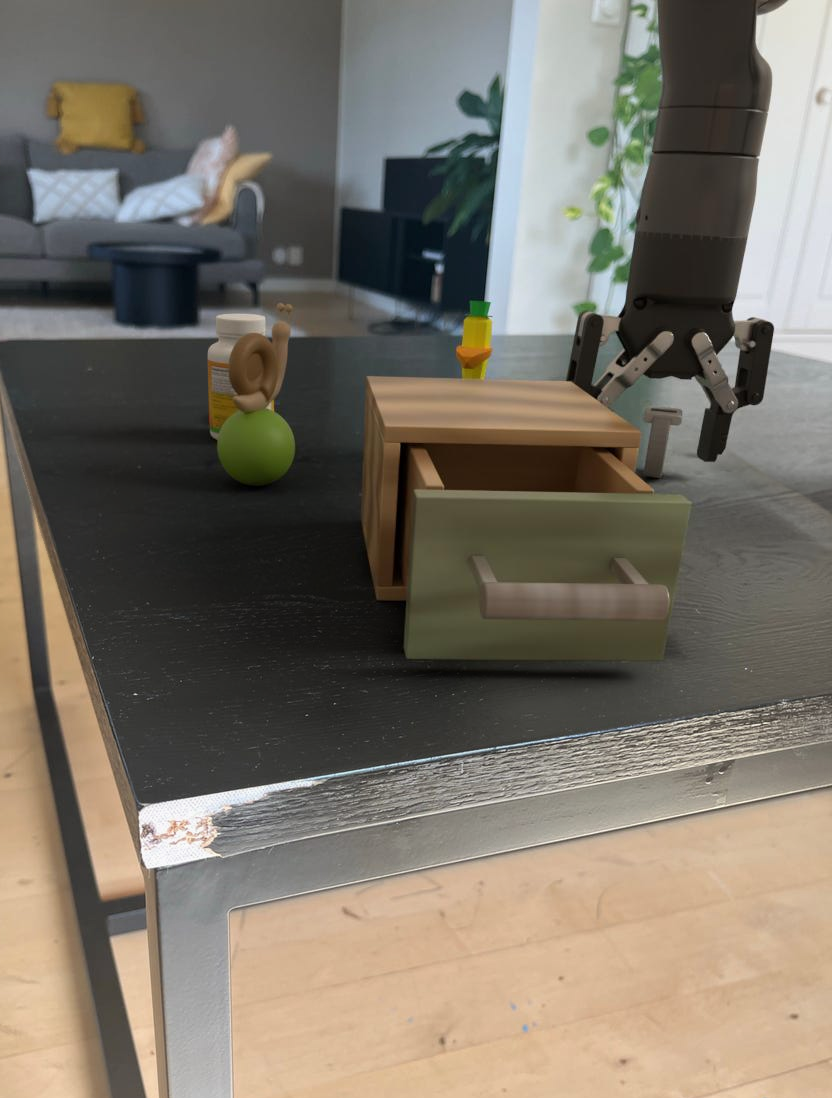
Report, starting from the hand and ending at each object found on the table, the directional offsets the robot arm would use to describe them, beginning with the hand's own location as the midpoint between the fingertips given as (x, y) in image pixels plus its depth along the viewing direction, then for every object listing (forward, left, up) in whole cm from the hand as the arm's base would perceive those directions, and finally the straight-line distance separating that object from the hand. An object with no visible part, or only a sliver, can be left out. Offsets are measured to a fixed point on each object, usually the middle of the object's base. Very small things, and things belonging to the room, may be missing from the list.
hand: (651, 458), depth 75 cm
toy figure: (+14, -4, -2) cm, 14 cm away
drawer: (+17, +31, 0) cm, 35 cm away
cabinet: (+17, +19, -1) cm, 25 cm away
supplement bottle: (+32, -10, -2) cm, 33 cm away
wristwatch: (0, 0, -2) cm, 2 cm away
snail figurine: (+30, +4, -2) cm, 30 cm away
